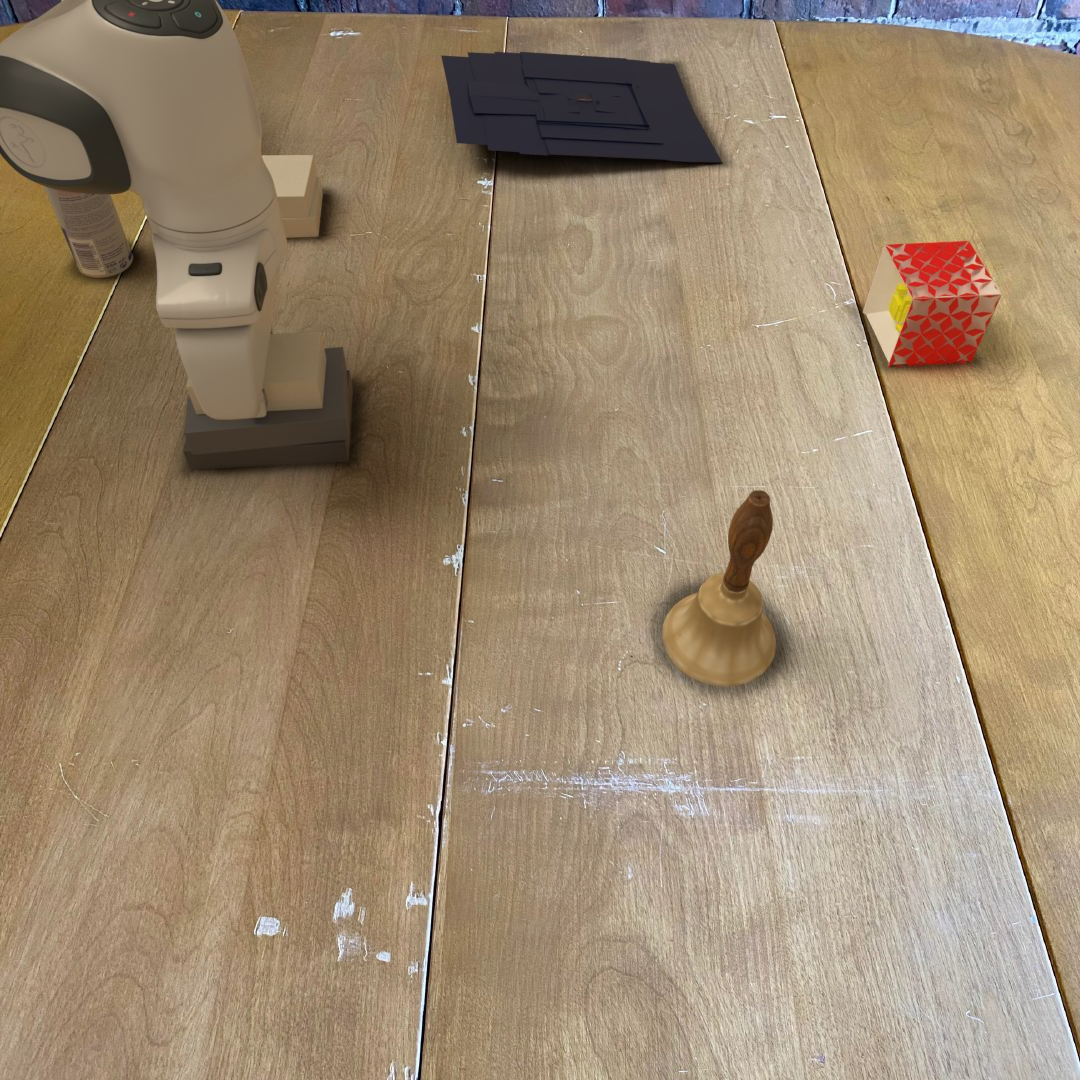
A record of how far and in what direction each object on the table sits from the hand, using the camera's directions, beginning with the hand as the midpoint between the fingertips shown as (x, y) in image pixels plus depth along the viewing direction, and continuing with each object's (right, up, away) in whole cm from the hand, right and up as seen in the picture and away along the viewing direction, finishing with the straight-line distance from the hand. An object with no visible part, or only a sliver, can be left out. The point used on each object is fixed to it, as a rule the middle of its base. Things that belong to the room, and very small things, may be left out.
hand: (261, 380), depth 81 cm
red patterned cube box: (+58, +6, +13) cm, 60 cm away
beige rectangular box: (-7, +21, +24) cm, 33 cm away
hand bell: (+36, -20, -9) cm, 42 cm away
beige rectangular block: (0, 0, +1) cm, 1 cm away
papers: (+27, +37, +38) cm, 59 cm away
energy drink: (-21, +15, +19) cm, 32 cm away
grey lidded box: (0, -4, +4) cm, 6 cm away
